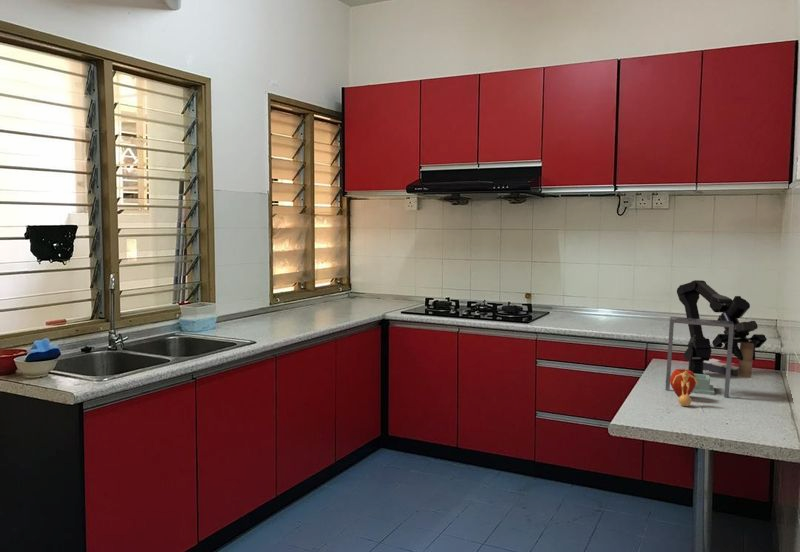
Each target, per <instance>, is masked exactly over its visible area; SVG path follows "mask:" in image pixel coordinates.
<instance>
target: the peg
mask: <svg viewBox="0 0 800 552" xmlns="http://www.w3.org/2000/svg"><path fill="white" fill-rule="evenodd" d="M739 349H740V352H741V354H742V356H743V360H740V359H738V364H739V368H738V375H737V376H738V377H740V378H745V379H747V378H748V379H751V378H752V373H753V363H754V362H753V349H754V344H753V343H747V342H741V343H739Z"/></svg>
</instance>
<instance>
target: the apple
mask: <svg viewBox="0 0 800 552" xmlns="http://www.w3.org/2000/svg"><path fill="white" fill-rule="evenodd" d="M685 371H687V372H688V374H690V375H692V376H694V377H695V375H694V373H693V372H692V371H689V370H688V369H685V368H682V369H681V368H679V369H677V368H676V369H674V370H673V371H672V372H671V375H670V386H671V388H672V390H673V392H674V393H675V395H676V396H677V397H678V398H679V397H680V396H681V395H682V386H681V381H683V377H682V376H678V377H676V379H675V381H674V384H672V383H673V380H674V378H675V376H676V375H679V374H681V373H683V372H685ZM688 381H689V382H690V383H689V386H690V387H689V390H688V396H689V397H690V394H692V393H693V392H692V391H693V389H694V387H695V384H696V381H695V379H694V378H692V377H689V378H688ZM688 381H687V382H688ZM683 388H684V390H683V391H684V395H686V392H687V389H688V388H687V386H686V384H685V386H684V387H683Z"/></svg>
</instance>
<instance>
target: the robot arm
mask: <svg viewBox="0 0 800 552" xmlns="http://www.w3.org/2000/svg"><path fill="white" fill-rule="evenodd" d="M676 294H677V297H678V299H679V300H678V301H679V302H680V303H681V304H682V305H683V306H684V312H685V315H686V318H695V319H701V317H700V312H699V309H698V308H699V307H698V301H699V299H700V296H701V297H703V298H704V299H705V300H706V301H707V303H709V307H710V309H711V310H712V312H713V313H717V314H718V313H721V314H720V315H718V318H717V320H720V321H733V323H734V331H733V345H732V356H734V357H736V358H737V359H738V360H739V359H740V360H743V356H742V354H741V352H740V346H739V344H740V343H741V342H747V343H753V344H754V349H753V361H756V349H760V348H761V346H762V345H764V344H765V342H767V340H768V339H767V337H766V335H765V334H763V333H754V334H753V335H752V336H751V337H747V336H749V335H750V333H752V332H754V331H755V330H757V329H758V327H759V326H758V324H757V322H756V320H749V321H741V322H740V321H739V319H741V318H742V317H743V316H744V315H745V314H746V313H747V312H748V311H749V309H750V307H751V304H750V302H749V301H748V300H746V299H744V298H743V297H741V295H735V296H734V297H733V299H732V298H730V297H728V296H726V295H722V294H720V293H719V292H717V291H716V290H715V289H714V288H712V286H710V285H708V284H707V282H706V281H705V280H702V279H701V280H700V279H699V280H698V279H697V280H696V279H695V280H692V281H690V282H687V283H683V284H680V285H679V286H678V287H677V289H676ZM687 325H688V330H689V336H690V339H689V341H688V344H687V349H686V350H685V351H684V353H683V358H684V360H687V361H688V366H687V370H689V371H692V372H693V373H694V374H703V375H706V374H705V373H704V370H703V365H704V361H709V359H711V354H712V346H713V348H715V349H717V348H719V349H721V348H722V347H723V350H726V351H727V350H728V336H729V327H723V328H724V330H723V333H718V334H717V335H716V336H715V338H713V340H712V346H711V340H710V339H709V338H706V337H705V336H704V332H703V328H702V325H695V324H687ZM723 345H724V346H723Z"/></svg>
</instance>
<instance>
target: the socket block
mask: <svg viewBox="0 0 800 552" xmlns="http://www.w3.org/2000/svg"><path fill="white" fill-rule="evenodd" d="M694 375H695V378H696V380H697V382H698V386H697V383H696V384H695V387H694V389H693V391H692V392H691V393H695V392H697V394H703V393H704V394H706V395H714V396H715V389H714V384H711V379H710V378H711V377H710V375H709V374H705V375H703V374H694ZM704 394H703V395H704Z"/></svg>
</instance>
